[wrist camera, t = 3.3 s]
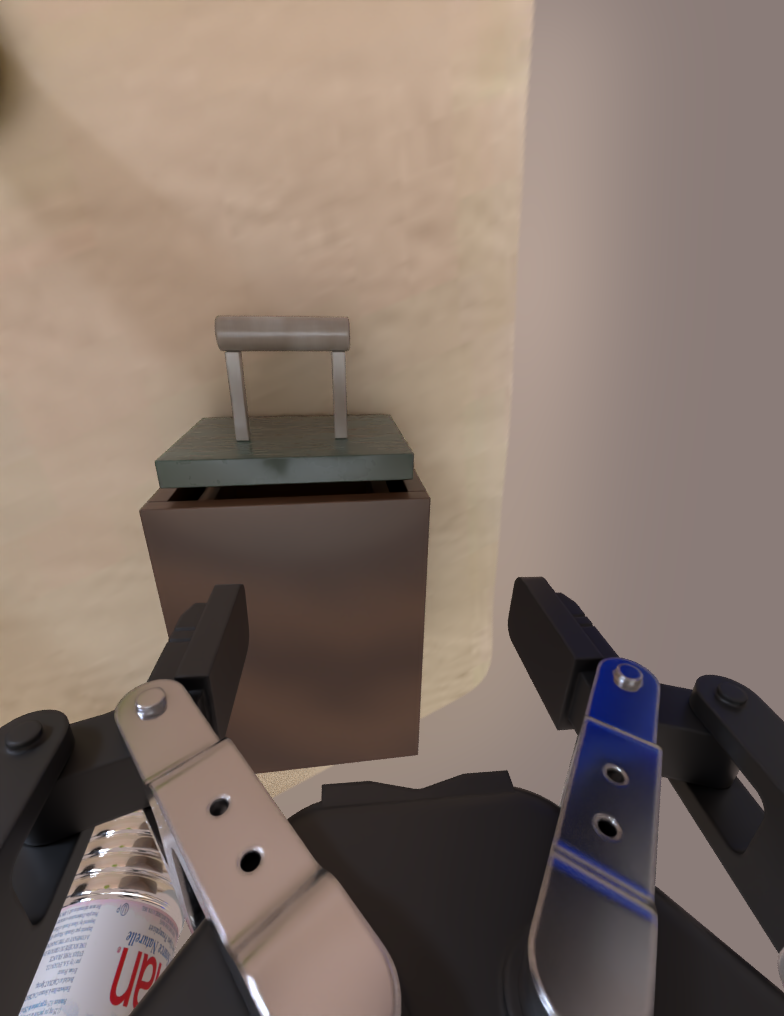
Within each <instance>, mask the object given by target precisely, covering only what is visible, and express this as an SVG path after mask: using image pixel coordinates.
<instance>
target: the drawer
mask: <svg viewBox="0 0 784 1016" xmlns="http://www.w3.org/2000/svg"><path fill="white" fill-rule="evenodd" d="M215 335H216V340H217V344H218V347H219V349H220V350H221V351H227V352H225V358H226V366H227V373H228V381H229V389H230V396H231V404H232V412H233V418H202V419H201V420H200V421H199V422H198V423H197V424H196V425H195V426H193V427H192V428H191V429H190V430H189V431H188V432H187V433H186V434H185V435H183V436H182V437H181V438H180V439H179V440H178V441H177V442H176V443H175V444H173V445H172V446H171V447H170V448H169V449H168V450H167V451H166V452H165V453H163V454H162V455H161V456H160V457H159V458H158V459H157V460H156V461H155V466H156V471H157V475H158V480H159V485H160V488H161V489H165V488H192V487H206V488H205V490H204V491H203V493H202V494H201V496H200V497H199V499H198V500H222V499H247V498H272V497H297V496H322V495H346V494H371V493H390V492H389V489H388V487H387V484H386V481H385V480H411V479H413V467H414V454H413V452H412V450H411V449H410V447H409V445H408V444H407V442H406V440H405V439H404V437H403V436H402V434H401V432H400V431H399V429H398V427H397V426H396V424H395V423H394V421H393V419H392V418H391V416H390V415H347V395H346V360H345V352H344V351H349V349H350V326H349V319H348V317H303V316H217V317H216V319H215ZM241 351H332V352H331V355H332V379H333V404H334V416H291V417H249V415H248V406H247V397H246V389H245V380H244V372H243V363H242V354H241Z"/></svg>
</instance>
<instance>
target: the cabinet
mask: <svg viewBox="0 0 784 1016" xmlns="http://www.w3.org/2000/svg"><path fill="white" fill-rule="evenodd" d="M385 481H386V484H387V487H388V489H389V492H390V493H371V494H346V495H322V496H297V497H272V498H247V499H222V500H198V499H199V497H200V496H201V494H202V493H203V491H204V490H205V488H206V487H192V488H165V489H161V488H159V489H158V490H157V491H156V493H155V494H154V495H153V496H152V497H151V498H150V499H149V500H148V501H147V503H146V504H145V505H144V506H143V507H142V508H141V509H140V510H139V512H140V517H141V521H142V525H143V530H144V534H145V538H146V542H147V547H148V551H149V555H150V560H151V564H152V568H153V572H154V577H155V581H156V585H157V590H158V594H159V598H160V602H161V607H162V611H163V615H164V620H165V624H166V628H167V633H168V637H169V638H170V636H171V634H172V632H173V631H174V628H175V626H176V624H177V622H178V620H179V618H180V616H181V615H182V614H183V613H184V612H185V611H186V610H188V609H189V608H190V607H191V606H192V605H193V604H194V603H207V601H208V599H209V597H210V595H211V592H212V590H213V588H214V586H215V585H223V584H243V585H244V588H245V595H246V604H247V613H248V622H249V646H248V651H247V655H246V659H245V663H244V667H243V670H242V674H241V678H240V682H239V686H238V689H237V693H236V697H235V701H234V705H233V708H232V712H231V716H230V720H229V724H228V727H227V731H226V735H225V737H228V738H229V739H231V741H232V742H233V743H234V744H235V746H236V747H237V749H238V750H239V751H240V753H241V754H242V756H243V757H244V759H245V760H246V761H247V763H248V764H249V766H250V767H251V769H252V770H253V771H254V773H255V774H258V773H266V772H275V771H284V770H292V769H301V768H309V767H318V766H327V765H335V764H344V763H353V762H361V761H370V760H378V759H387V758H396V757H405V756H413V755H418V743H419V722H420V702H421V682H422V661H423V640H424V620H425V599H426V579H427V558H428V538H429V517H430V497H429V495H428V493H427V492H426V489H425V488H424V486H423V484H422V482H421V481H420V479H419V477H418V475H417V473H416V472H415V470H414V468H413V479H411V480H385Z"/></svg>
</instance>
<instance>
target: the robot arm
mask: <svg viewBox="0 0 784 1016" xmlns="http://www.w3.org/2000/svg"><path fill="white" fill-rule="evenodd" d="M508 631H509V636H510V638H511V641H512V643H513V645H514V647H515V649H516V651H517V653H518V654H519V657H520V658H521V660H522V662H523V664H524V666H525V668H526V670H527V672H528V674H529V676H530V678H531V680H532V682H533V684H534V686H535V687H536V689H537V691H538V693H539V695H540V697H541V699H542V701H543V703H544V705H545V707H546V709H547V711H548V713H549V715H550V717H551V719H552V720H553V722H554V724H555V726H556V728H557V730H568V729H575V731H576V733H577V735H578V736H577V740H576V743H575V747H574V751H573V755H572V759H571V762H570V766H569V770H568V773H567V777H566V781H565V785H564V788H563V792H562V796H561V800H560V804H559V806H557V805H556V804H555V803H553V802H551V801H550V800H548V799H546V798H544V797H542V796H541V795H538V794H536V793H533V792H531V791H528V790H525V789H522V788H518V787H513V784H512V782H511V779H510V776H509V773H508V771H507V770H506V771H493V772H482V773H481V772H480V773H467V774H462V775H459V776H456V777H453V778H451V779H448V780H445V781H442V782H439V783H437V784H434V785H431V786H428V787H425V788H422V789H412V788H406V787H400V786H395V785H389V784H383V783H378V782H372V781H363V782H350V783H337V784H326V785H325V784H324V785H322V801H320V802H318V803H315V804H312V805H310V806H308V807H306V808H304V809H302V810H300V811H299V812H297V813H296V814H294V815H293V816H291V817H290V818H288V819H286V817H285V816H284V814H283V813H282V812H281V810H280V809H279V807H278V806H277V804H276V803H275V802H274V800H273V799H272V797H271V796H270V794H269V793H268V792H267V790H266V789H265V787H264V786H263V784H262V783H261V782H260V780H259V779H258V777H257V776H256V774H255V773H254V771H253V770H252V769H251V767H250V766H249V764H248V763H247V761H246V760H245V759H244V757H243V756H242V754H241V753H240V751H239V750H238V749H237V747H236V746H235V744H234V743H233V742H232V741H231V739H229V738H228V737H225V735H226V731H227V727H228V724H229V720H230V716H231V712H232V708H233V705H234V701H235V697H236V693H237V689H238V686H239V682H240V678H241V674H242V670H243V667H244V663H245V659H246V655H247V651H248V646H249V622H248V613H247V604H246V595H245V588H244V585H243V584H223V585H215V586H214V588H213V590H212V592H211V595H210V597H209V599H208V601H207V603H194V604H193V605H192V606H191V607H190V608H189V609H188V610H186V611H185V612H184V613H183V614H182V615H181V616H180V618H179V620H178V622H177V624H176V626H175V628H174V631H173V632H172V634H171V636H170V638H169V642H167V644H166V646H165V648H164V650H163V652H162V653H161V655H160V657H159V659H158V661H157V663H156V665H155V667H154V669H153V671H152V673H151V675H150V677H149V679H148V681H147V683H144V684H142V685H140V686H138V687H136V688H134V689H133V690H131V691H130V692H128V693H127V694H126V695H125V696H124V697H123V698H122V699H121V700H120V702H119V703H118V705H117V707H116V709H115V710H114V711H111V712H109V713H106V714H103V715H100V716H96V717H93V718H89V719H86V720H82V721H79V722H76V723H72V724H69V721H68V719H67V716H66V715H65V714H64V713H62V712H60V711H57V710H41V711H36V712H32V713H28V714H26V715H23V716H21V717H18V718H16V719H14V720H12V721H11V722H9V723H7V724H6V725H4V726H3V727H1V728H0V1016H19V1013H20V1011H21V1008H22V1006H23V1003H24V1001H25V998H26V996H27V993H28V991H29V989H30V986H31V984H32V981H33V979H34V976H35V974H36V971H37V969H38V966H39V964H40V962H41V959H42V957H43V954H44V952H45V949H46V947H47V944H48V942H49V939H50V937H51V934H52V932H53V930H54V927H55V925H56V922H57V920H58V917H59V915H60V912H61V910H62V907H63V905H64V902H65V900H66V898H67V895H68V893H69V890H70V888H71V885H72V883H73V880H74V878H75V875H76V873H77V871H78V868H79V866H80V863H81V861H82V858H83V856H84V853H85V851H86V848H87V846H88V843H89V841H90V839H91V836H92V834H93V831H94V829H95V826H98V825H101V824H103V823H106V822H109V821H111V820H114V819H117V818H119V817H122V816H125V815H127V814H130V813H133V812H135V811H138V810H141V811H142V814H143V816H144V818H145V821H146V823H147V825H148V828H149V830H150V832H151V835H152V837H153V839H154V841H155V844H156V846H157V848H158V851H159V853H160V855H161V858H162V860H163V862H164V865H165V867H166V869H167V872H168V874H169V876H170V879H171V882H172V884H173V887H174V890H175V893H176V896H177V898H178V901H179V904H180V907H181V909H182V912H183V915H184V917H185V920H186V922H187V924H188V927H189V929H190V931H191V933H192V935H191V936H190V938H189V939H188V940H187V941H186V943H185V944H184V945H183V947H182V948H181V949H180V950H179V952H178V953H177V954H176V956H175V957H174V958H173V959H172V961H171V962H170V963H169V964H168V966H167V967H166V968H165V970H164V971H163V972H162V973H161V975H160V976H159V977H158V979H157V980H156V981H155V982H154V984H153V985H152V986H151V988H150V989H149V990H148V991H147V993H146V994H145V995H144V996H143V998H142V999H141V1000H140V1002H139V1003H138V1004H137V1005H136V1007H135V1008H134V1009H133V1011H132V1012H131V1013H130V1014H129V1016H784V993H783V992H782V991H781V990H780V989H779V988H778V987H777V986H775V985H774V984H773V983H772V982H771V981H769V980H768V979H767V978H766V977H764V976H763V975H762V974H761V973H760V972H759V971H757V970H756V969H755V968H754V967H753V966H751V965H750V964H749V963H748V962H746V961H745V960H744V959H743V958H742V957H740V956H739V955H738V954H737V953H736V952H734V951H733V950H732V949H731V948H730V947H728V946H727V945H726V944H725V943H724V942H722V941H721V940H720V939H719V938H717V937H716V936H715V935H714V934H713V933H712V932H710V931H709V930H708V929H707V928H706V927H704V926H703V925H702V924H701V923H700V922H698V921H697V920H696V919H695V918H693V917H692V916H691V915H690V914H689V913H688V912H686V911H685V910H684V909H683V908H682V907H680V906H679V905H678V904H677V903H676V902H674V901H673V900H672V899H671V898H669V897H668V896H667V895H666V894H664V892H662V891H661V890H660V889H659V888H657V887H656V886H655V877H656V859H657V842H658V825H659V824H658V823H659V807H660V790H661V777H666V778H668V779H669V781H670V783H671V784H672V786H673V787H674V789H675V791H676V792H677V794H678V795H679V797H680V798H681V800H682V802H683V803H684V805H685V806H686V808H687V809H688V811H689V813H690V814H691V816H692V817H693V819H694V820H695V822H696V824H697V825H698V827H699V828H700V830H701V832H702V833H703V835H704V836H705V838H706V840H707V841H708V843H709V844H710V846H711V847H712V849H713V850H714V852H715V854H716V855H717V857H718V858H719V860H720V862H721V863H722V865H723V866H724V868H725V869H726V871H727V873H728V874H729V876H730V877H731V879H732V880H733V882H734V884H735V885H736V887H737V888H738V890H739V892H740V893H741V895H742V896H743V898H744V899H745V901H746V902H747V904H748V906H749V907H750V909H751V910H752V912H753V914H754V915H755V917H756V918H757V920H758V921H759V923H760V925H761V926H762V928H763V929H764V931H765V933H766V934H767V936H768V937H769V939H770V940H771V942H772V944H773V945H774V947H775V948H776V950H777V951H778V953H779V956H778V971H779V975H780V978H781V981H782V984H783V987H784V722H783V720H782V719H781V718H779V716H778V715H776V714H775V712H773V710H772V709H771V708H769V706H768V705H767V704H766V703H765V702H764V701H763V700H762V699H761V698H759V696H757V695H756V694H755V693H754V692H753V691H751V690H750V689H749V688H747V687H745V686H744V685H742V684H740V683H738V682H736V681H734V680H731V679H728V678H726V677H722V676H717V675H704V676H701V677H699V678H698V679H697V681H696V683H695V686H694V688H693V690H690V689H686V688H680V687H675V686H670V685H664V684H660V683H659V682H658V680H657V678H656V677H655V676H654V675H653V674H652V673H651V672H650V671H649V670H648V669H646V668H645V667H643V666H642V665H640V664H638V663H636V662H633V661H631V660H628V659H625V658H619V656H618V655H617V654H616V653H615V651H614V650H613V649H612V648H611V646H610V645H609V644H608V643H607V641H606V640H605V639H604V638H603V636H602V635H601V634H600V633H599V631H598V630H597V629H596V628H595V626H593V625H592V623H591V621H590V620H589V619H588V618H587V617H585V614H584V613H583V611H582V610H581V609H580V607H579V606H578V605H577V604H576V603H575V602H574V601H573V600H571V599H570V598H568V597H567V596H565V595H564V594H562V593H555V591H554V590H553V589H552V587H551V586H550V585H549V584H548V582H547V581H546V580H545V579H544V578H543V577H518V578H517V579H516V580H515V583H514V588H513V594H512V600H511V605H510V611H509V618H508ZM739 770H740V771H741V772H742V773H743V774H744V776H745V777H746V778H747V779H748V781H749V782H750V783H751V785H752V786H753V787H754V788H755V789H756V791H757V792H758V794H759V796H760V798H761V799H762V802H763V806H764V811H765V812H764V811H763V810H762V808H761V807H760V806H759V804H758V803H757V802H756V801H755V799H754V798H753V797H752V796H751V794H750V793H749V792H748V791H747V789H746V788H745V787H744V785H743V784H742V783H741V782H740V780H739V779H738V778H737V774H738V772H739Z"/></svg>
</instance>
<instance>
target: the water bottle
mask: <svg viewBox="0 0 784 1016" xmlns="http://www.w3.org/2000/svg"><path fill="white" fill-rule="evenodd" d="M184 921H185V917H184V915H183V912H182V909H181V907H180V904H179V901H178V898H177V896H176V893H175V890H174V887H173V884H172V882H171V879H170V876H169V874H168V872H167V869H166V867H165V865H164V862H163V860H162V858H161V855H160V853H159V851H158V848H157V846H156V844H155V841H154V839H153V837H152V835H151V832H150V830H149V828H148V825H147V823H146V821H145V818H144V816H143V814H142V811H141V810H138V811H135V812H133V813H130V814H127V815H125V816H122V817H119V818H117V819H114V820H111V821H109V822H106V823H103V824H101V825H98V826H95V829H94V831H93V834H92V836H91V839H90V841H89V843H88V846H87V848H86V851H85V853H84V856H83V858H82V861H81V863H80V866H79V868H78V871H77V873H76V875H75V878H74V880H73V883H72V885H71V888H70V890H69V893H68V895H67V898H66V900H65V902H64V905H63V907H62V910H61V912H60V915H59V917H58V920H57V922H56V925H55V927H54V930H53V932H52V934H51V937H50V939H49V942H48V944H47V947H46V949H45V952H44V954H43V957H42V959H41V962H40V964H39V966H38V969H37V971H36V974H35V976H34V979H33V981H32V984H31V986H30V989H29V991H28V993H27V996H26V998H25V1001H24V1003H23V1006H22V1008H21V1011H20V1013H19V1016H129V1014H130V1013H131V1012H132V1011H133V1009H134V1008H135V1007H136V1005H137V1004H138V1003H139V1002H140V1000H141V999H142V998H143V996H144V995H145V994H146V993H147V991H148V990H149V989H150V988H151V986H152V985H153V984H154V982H155V981H156V980H157V979H158V977H159V976H160V975H161V973H162V972H163V971H164V970H165V968H166V967H167V966H168V964H169V963H170V962H171V961H172V959H173V957H174V953H175V949H176V944H177V940H178V938H179V936H180V934H181V931H182V928H183V925H184Z"/></svg>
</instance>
